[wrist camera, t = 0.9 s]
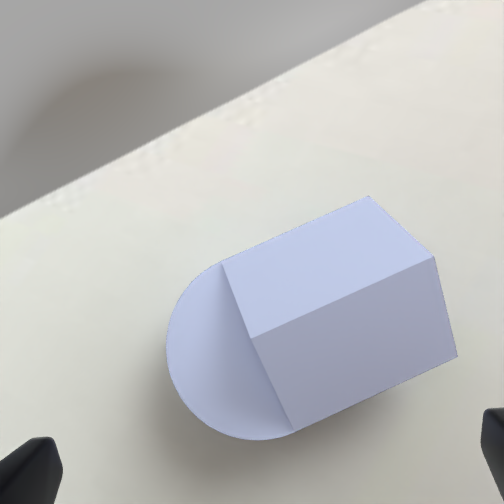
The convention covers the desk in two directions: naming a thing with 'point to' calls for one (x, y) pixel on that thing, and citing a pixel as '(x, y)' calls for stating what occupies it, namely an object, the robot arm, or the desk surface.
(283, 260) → the wedge on round base
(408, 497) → the desk surface
